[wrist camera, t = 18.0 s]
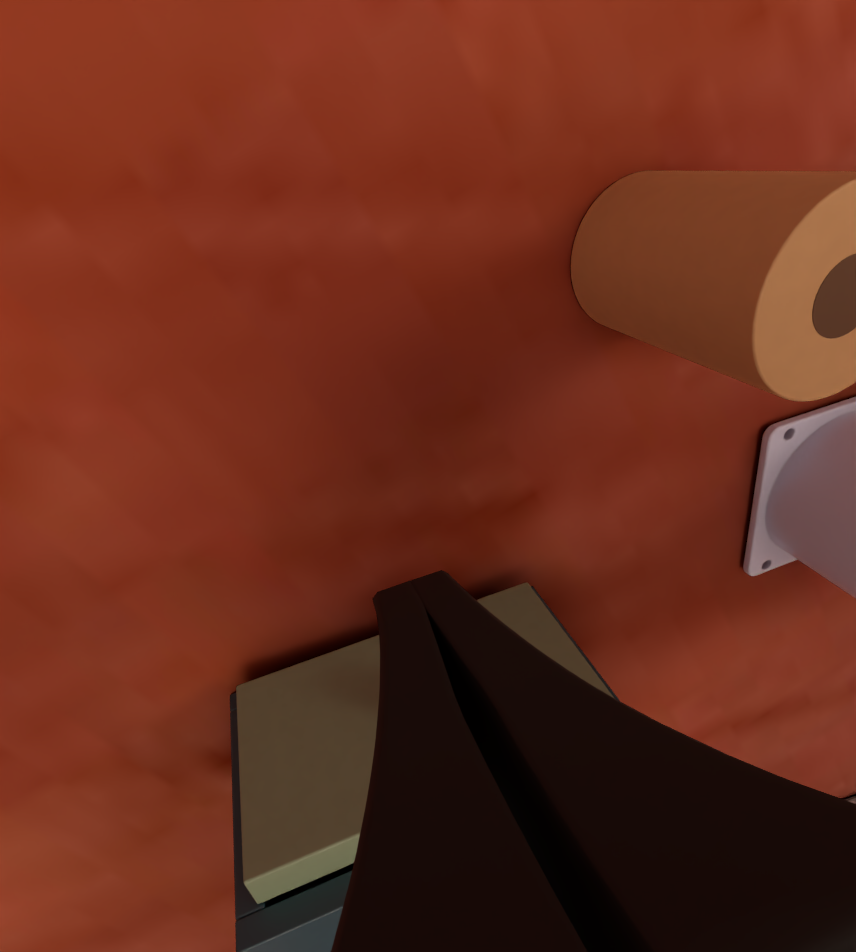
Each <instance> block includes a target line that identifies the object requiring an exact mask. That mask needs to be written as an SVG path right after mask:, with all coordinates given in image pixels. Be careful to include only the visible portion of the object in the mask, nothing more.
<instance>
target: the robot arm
mask: <svg viewBox="0 0 856 952" xmlns="http://www.w3.org/2000/svg"><path fill="white" fill-rule="evenodd" d="M797 559H798V560H799V561H801V562H802V563H804V564H805V565H807V566H808V567H810V568H811V569H813V570H814V571H816V572H817V573H818V574H820V575H821V576H823V577H824V578H826V579H827V580H829V581H830V582H832V583H833V584H835V585H836V586H838V587H839V588H841V589H842V590H844V591H845V592H847V593H848V594H850V595H851V596H853V597H854V598H856V397H853V398H850V399H847V400H844V401H841V402H838V403H835V404H832V405H829V406H826V407H823V408H820V409H817V410H814V411H811V412H808V413H805V414H802V415H798V416H795V417H792V418H789V419H786V420H783V421H780V422H777V423H774V424H772V425H770V426H769V427H768V428H767V429H766V430H765V432H764V434H763V437H762V443H761V450H760V457H759V464H758V471H757V477H756V484H755V491H754V498H753V504H752V511H751V518H750V525H749V531H748V538H747V545H746V552H745V558H744V565H743V570H744V571H745V572H746V573H747V574H748V575H750V576H756V575H759V574H761V573H764V572H766V571H769V570H772V569H774V568H777V567H779V566H782V565H784V564H787V563H790V562H792V561H795V560H797ZM373 602H374V606H375V610H376V614H377V619H378V627H379V642H380V689H379V704H378V716H377V728H376V739H375V748H374V756H373V763H372V770H371V777H370V783H369V789H368V795H367V801H366V807H365V812H364V817H363V822H362V827H361V832H360V837H359V842H358V847H357V852H356V856H355V860H354V865H353V869H352V874H351V878H350V882H349V886H348V890H347V894H346V897H345V901H344V905H343V909H342V912H341V916H340V920H339V924H338V927H337V931H336V935H335V939H334V942H333V946H332V950H331V952H856V804H854V803H852V802H849V801H846V800H843V799H840V798H838V797H835V796H832V795H829V794H826V793H824V792H821V791H818V790H815V789H812V788H809V787H807V786H804V785H801V784H798V783H795V782H793V781H790V780H788V779H785V778H782V777H780V776H777V775H775V774H772V773H770V772H768V771H765V770H763V769H760V768H758V767H756V766H753V765H751V764H748V763H746V762H744V761H741V760H739V759H736V758H734V757H732V756H729V755H727V754H725V753H723V752H720V751H718V750H716V749H714V748H712V747H710V746H708V745H706V744H703V743H701V742H699V741H697V740H695V739H693V738H691V737H689V736H686V735H684V734H682V733H680V732H678V731H676V730H674V729H672V728H670V727H667V726H665V725H663V724H661V723H659V722H657V721H655V720H653V719H651V718H650V717H648V716H646V715H644V714H642V713H640V712H638V711H637V710H635V709H633V708H631V707H629V706H627V705H625V704H624V703H622V702H620V701H618V700H617V699H615V698H613V697H611V696H610V695H608V694H606V693H605V692H603V691H601V690H599V689H598V688H596V687H594V686H593V685H591V684H589V683H588V682H586V681H585V680H583V679H581V678H580V677H578V676H577V675H575V674H574V673H572V672H571V671H569V670H567V669H566V668H564V667H563V666H562V665H560V664H559V663H557V662H556V661H554V660H553V659H551V658H550V657H548V656H547V655H545V654H544V653H543V652H541V651H540V650H538V649H537V648H536V647H534V646H533V645H532V644H530V643H529V642H527V641H526V640H525V639H524V638H522V637H521V636H520V635H518V634H517V633H516V632H514V631H513V630H512V629H511V628H509V627H508V626H507V625H505V624H504V623H503V622H502V621H500V620H499V619H498V618H497V617H495V616H494V615H493V614H492V613H491V612H489V611H488V610H487V609H486V608H485V607H484V606H482V605H481V604H480V603H479V602H478V601H477V600H475V599H474V598H473V597H472V596H471V595H470V594H469V593H468V592H467V591H466V590H465V589H463V588H462V587H461V586H460V585H459V584H458V583H457V582H456V581H455V580H454V579H453V578H452V577H451V576H450V575H449V574H448V573H446V572H444V571H442V570H441V571H438V572H435V573H432V574H429V575H426V576H423V577H420V578H417V579H414V580H411V581H408V582H405V583H402V584H400V585H397V586H394V587H391V588H388V589H385V590H382V591H379V592H377V593H376V595H375V596H374V598H373Z"/></svg>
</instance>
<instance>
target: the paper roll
mask: <svg viewBox="0 0 856 952" xmlns="http://www.w3.org/2000/svg"><path fill="white" fill-rule="evenodd" d="M571 279H572V284H573V289H574V292H575V295H576V298H577V300H578V302H579V304H580V305H581V307H582V308H583V310H584V311H585V312H586V314H587V315H589V316H590V317H591V318H592V319H593V320H594V321H596V322H597V323H599V324H601V325H604V326H606V327H608V328H611V329H613V330H616V331H618V332H621V333H623V334H626V335H628V336H631V337H633V338H635V339H638V340H640V341H643V342H645V343H648V344H650V345H653V346H655V347H658V348H660V349H663V350H665V351H668V352H670V353H673V354H675V355H678V356H680V357H682V358H685V359H687V360H690V361H692V362H695V363H697V364H700V365H702V366H705V367H707V368H710V369H712V370H715V371H717V372H720V373H722V374H724V375H727V376H729V377H732V378H734V379H737V380H739V381H742V382H744V383H747V384H749V385H752V386H754V387H757V388H759V389H762V390H764V391H766V392H769V393H771V394H774V395H776V396H779V397H781V398H784V399H787V400H791V401H802V402H804V401H814V400H818V399H822V398H826V397H829V396H831V395H834V394H836V393H838V392H840V391H842V390H844V389H846V388H847V387H849V386H851V385H852V384H854V383H855V382H856V171H641V172H637V173H633V174H630V175H628V176H626V177H624V178H621V179H620V180H618V181H617V182H615V183H614V184H612V185H611V186H610V187H608V188H607V189H606V190H605V191H604V192H603V193H602V194H601V195H600V196H599V197H598V198H597V199H596V200H595V202H594V203H593V204H592V205H591V207H590V208H589V210H588V211H587V213H586V215H585V216H584V218H583V220H582V222H581V224H580V226H579V229H578V231H577V234H576V237H575V240H574V245H573V249H572V256H571Z"/></svg>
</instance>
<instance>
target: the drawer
mask: <svg viewBox="0 0 856 952" xmlns="http://www.w3.org/2000/svg"><path fill="white" fill-rule="evenodd" d="M477 601H478V602H479V603H480V604H481V605H482V606H484V607H485V608H486V609H487V610H488V611H489V612H491V613H492V614H493V615H494V616H495V617H497V618H498V619H499V620H500V621H502V622H503V623H504V624H505V625H507V626H508V627H509V628H511V629H512V630H513V631H514V632H516V633H517V634H518V635H520V636H521V637H522V638H524V639H525V640H526V641H527V642H529V643H530V644H532V645H533V646H534V647H536V648H537V649H538V650H540V651H541V652H543V653H544V654H545V655H547V656H548V657H550V658H551V659H553V660H554V661H556V662H557V663H559V664H560V665H562V666H563V667H564V668H566V669H567V670H569V671H571V672H572V673H574V674H575V675H577V676H578V677H580V678H581V679H583V680H585V681H586V682H588V683H589V684H591V685H593V686H594V687H596V688H598V689H599V690H601V691H603V692H605V693H606V694H608V695H610V696H611V697H613V696H612V694H611V693H610V692H609V690H608V689H607V688H606V686H605V685H604V684H603V682H602V681H601V680H600V678H599V677H598V676H597V674H596V673H595V672H594V670H593V669H592V668H591V666H590V665H589V664H588V662H587V661H586V660H585V658H584V657H583V656H582V654H581V653H580V652H579V650H578V649H577V648H576V646H575V645H574V644H573V642H572V641H571V640H570V638H569V637H568V636H567V634H566V633H565V632H564V630H563V629H562V628H561V626H560V625H559V624H558V622H557V621H556V620H555V618H554V617H553V616H552V614H551V613H550V612H549V610H548V609H547V608H546V606H545V605H544V604H543V602H542V601H541V600H540V599H539V597H538V596H537V595H536V593H535V592H534V591H533V589H532V588H531V587H530V585H529V584H528V583H527V582H525V583H522V584H520V585H517V586H514V587H511V588H508V589H506V590H503V591H500V592H497V593H494V594H492V595H489V596H486V597H483V598H480V599H478V600H477ZM379 689H380V642H379V635H377V636H374V637H372V638H369V639H366V640H363V641H360V642H358V643H355V644H352V645H349V646H346V647H344V648H341V649H338V650H335V651H332V652H330V653H327V654H324V655H321V656H318V657H316V658H313V659H310V660H307V661H304V662H302V663H299V664H296V665H293V666H291V667H288V668H285V669H282V670H279V671H277V672H274V673H271V674H268V675H265V676H263V677H260V678H257V679H254V680H251V681H249V682H246V683H243V684H240V685H238V686H237V687H236V697H237V724H238V751H239V777H240V804H241V830H242V857H243V883H244V884H245V886H246V887H247V889H248V891H249V892H250V894H251V895H252V897H253V898H254V900H255V901H256V903H257V904H260V903H263V902H265V901H267V900H270V899H272V898H274V897H276V896H279V895H281V894H283V893H286V892H288V891H290V890H293V889H294V895H297V894H299V893H301V892H303V891H306V890H308V889H310V888H313V887H315V886H317V885H320V884H322V883H324V882H327V881H329V880H331V879H333V878H336V877H338V876H340V875H343V874H345V873H347V872H350V871H352V869H353V865H354V860H355V856H356V852H357V847H358V842H359V837H360V832H361V827H362V822H363V817H364V812H365V807H366V801H367V795H368V789H369V783H370V777H371V770H372V763H373V756H374V748H375V739H376V728H377V716H378V704H379ZM613 698H614V697H613Z"/></svg>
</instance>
